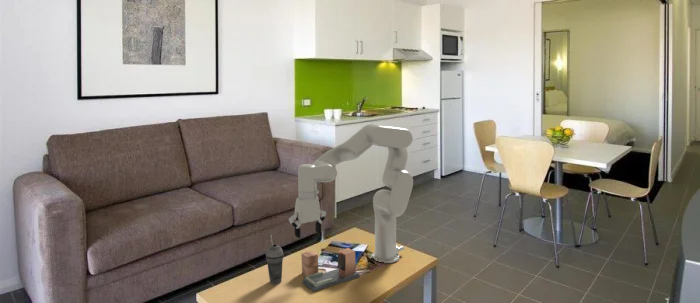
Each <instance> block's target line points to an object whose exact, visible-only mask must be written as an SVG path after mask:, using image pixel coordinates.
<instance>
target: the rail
mask: <svg viewBox="0 0 700 303" xmlns="http://www.w3.org/2000/svg"><path fill="white" fill-rule="evenodd" d="M357 278H360V273H359V272H357V270H356V251H355V250H353V249H351V248H349V247H347V248H343V249H340V250H338V253H337V268H336V269H333V270H330V271H326V272H323V271H318V273H315V274H311V275H308V276H305V275H304V276H303V279H301V283H302V285H304V286H305V287H306V288H308V289H309V290H310V291H312V292H317V291H320V290H322V289H326V288H330V287H331V286H332V287H333V286H334V285H340V284H341V283H344V282H345V283H346V282H347V281H351V280H353V279H357Z"/></svg>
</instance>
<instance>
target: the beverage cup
mask: <svg viewBox="0 0 700 303" xmlns="http://www.w3.org/2000/svg"><path fill="white" fill-rule="evenodd" d="M270 242H271V245H269V247H267V248H266V252H265V259H266V262H267V264H266V265H267V272H268V278H269V282H270V284H271V285H279V284H281V283H282V278H283V262H284V261H283V260H284V255H285V253H284V251H283V248H282V247H281V246H280V245H278V244H274V242H273V237H272V234H270Z"/></svg>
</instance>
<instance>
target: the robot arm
mask: <svg viewBox="0 0 700 303" xmlns="http://www.w3.org/2000/svg"><path fill="white" fill-rule="evenodd" d="M412 142H413V133H412V132H411V130H409V129H407V128H404V127H403V128H402V127H398V126H392V125H390V126H385V125H380V124H379V125H378V124H374V123H369V124H366V125H364V126H363V127H362V128H360V129H359V130H358V131H357V132H356V133H355V134H353V135H352V136H351V137H349V138H348V139H347V140H345V142H343V143H341V144H339V145H337V146H335V147H333V148H331V149H329V150H327V151H326V152H324V153H323V154H322V155H320V156H319V157H318V158H317V159H316V160H314V162H313V163H303V164H300V165H299V166H298V168H297V185H298V186H297V189H298V190H297V191H298V196H297V197H296V200H295V204H294V214H293V215H291V216H290V217H289V218H288V222H289V223H290V225H291V226H292V228H294V236H295V238H298V239H301V228H300V227H301V226H302V224H306V223H311V222H315V225H314V226H315V232H316V233H318V234H322V224H323V222H324V220H326V216H327V211H325V210H321V205H320V201H319V200H320V199H319V197H318V194H319V193H320V190H319V189H318V183H331V182H333V181H334V180H335V179H336V178H337V176H338V170H337V168H336V167H335V166H337V165H338V164H340V163H343V162H349V161H354V160H357V159H358V158H359V157H361V155H363V154H364V153H365V152H366V151H367V150H369V149H370V148H372V146H378V147H381V148H382V147H384V148H387V150H388V152H387V153H388V155H387V159H386V163H385V167H384V171H383V174H382V183H383V185H384V186H385V187H388V188H390V189H391V190H389V189H380V190H378V191H376V192H375V194H374V195H373V199H372V206H373V207H372V208H373V211H374V252H372V254H371V257H372V256H373V258H374V259H375V258H377V259H376V260H377V261H380V262H384V263H383V264H391V263H395V262H396V263H397V261H399V260H400V254H399V252H401V251H404V250H405V248H404V246H401V245H400V246H398V245H397V218H398V217H401V216H402V215H403V214H404V213H405V212H406V210H407V207H408V204H409V201H410V198H411V194H412V190H413V186H414V178H413V176H412V174H411V173H410V171H407V170H406V165H407V162H408V157H409V156H408V149H407V148H408V147H410V146H411V144H412Z"/></svg>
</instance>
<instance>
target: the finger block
mask: <svg viewBox="0 0 700 303" xmlns="http://www.w3.org/2000/svg"><path fill="white" fill-rule="evenodd" d="M318 272H319V254H318V253H317V252H315V251H313V250H309V251H306V252H302V253H301V274H302V275H304V277H305V276H308V275H311V274H315V273H318Z"/></svg>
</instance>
